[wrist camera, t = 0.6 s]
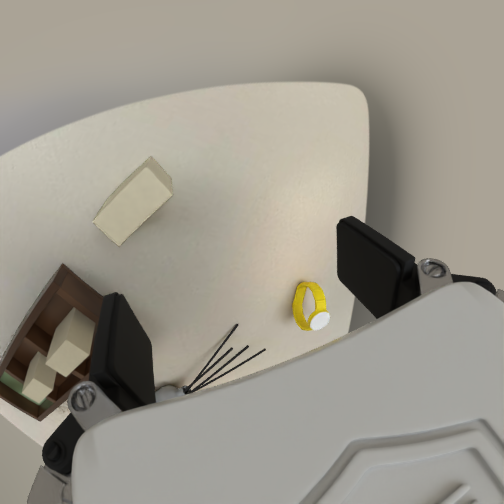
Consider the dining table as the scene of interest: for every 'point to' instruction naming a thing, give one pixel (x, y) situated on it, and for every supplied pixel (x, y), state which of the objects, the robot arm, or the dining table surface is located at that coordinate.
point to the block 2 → (70, 343)
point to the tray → (47, 342)
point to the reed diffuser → (174, 392)
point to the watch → (320, 314)
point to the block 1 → (38, 379)
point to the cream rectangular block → (134, 201)
